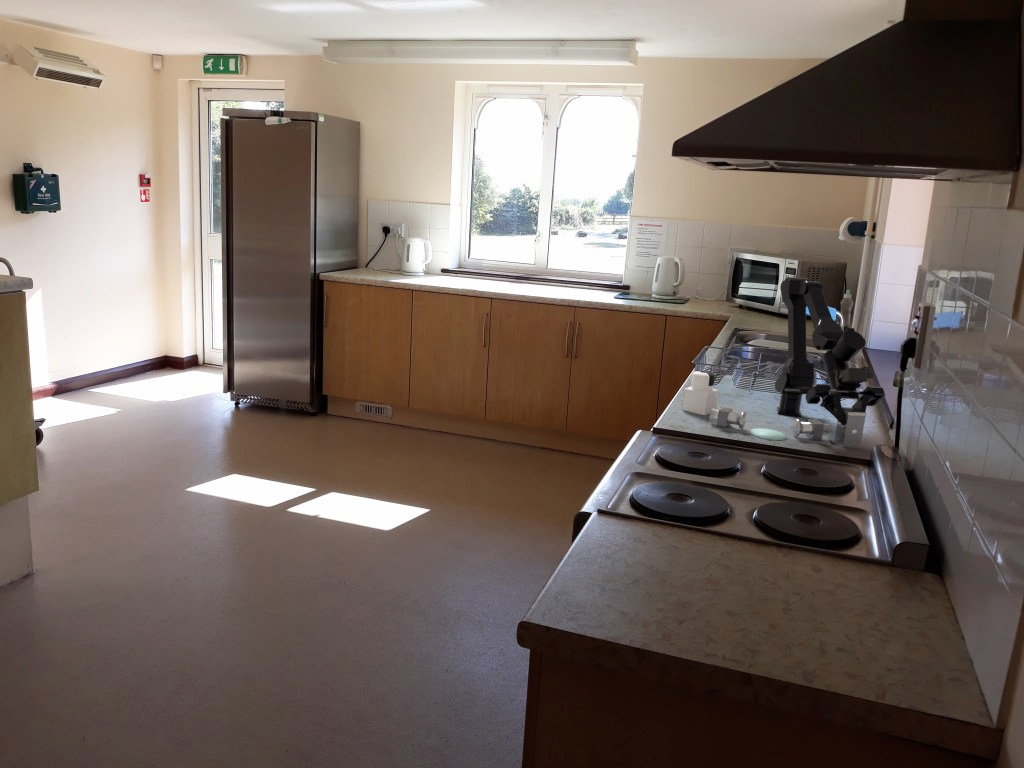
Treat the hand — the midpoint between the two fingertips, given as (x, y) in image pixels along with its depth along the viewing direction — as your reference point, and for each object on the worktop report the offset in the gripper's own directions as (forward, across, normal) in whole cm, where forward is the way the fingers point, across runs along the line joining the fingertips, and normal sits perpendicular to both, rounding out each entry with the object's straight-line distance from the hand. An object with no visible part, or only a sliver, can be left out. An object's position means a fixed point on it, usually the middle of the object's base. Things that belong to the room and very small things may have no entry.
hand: (853, 424), depth 203 cm
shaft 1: (-6, -27, +14) cm, 31 cm away
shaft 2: (0, -7, +8) cm, 11 cm away
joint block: (+4, 0, +6) cm, 7 cm away
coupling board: (-2, -17, +12) cm, 21 cm away
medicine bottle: (-16, -29, +26) cm, 42 cm away
